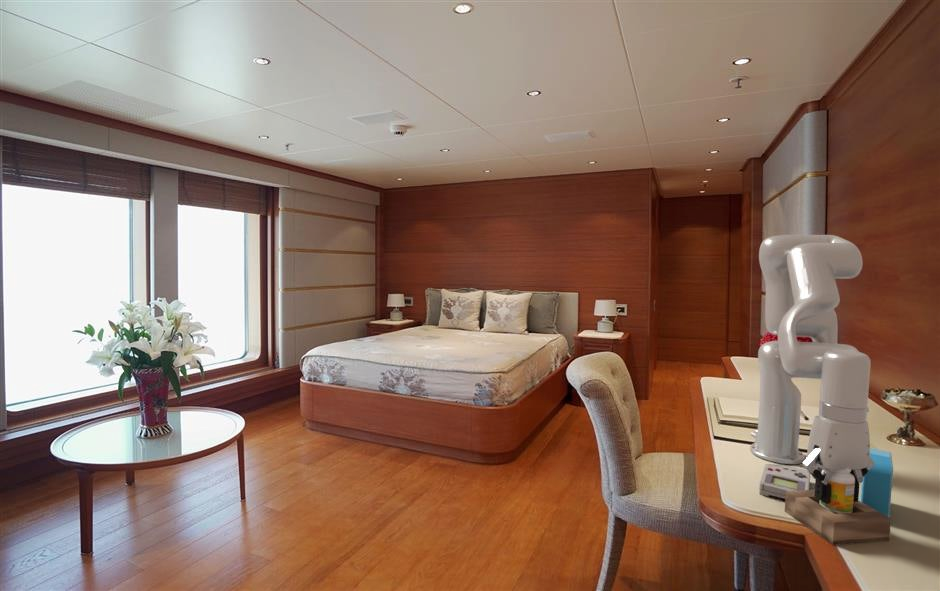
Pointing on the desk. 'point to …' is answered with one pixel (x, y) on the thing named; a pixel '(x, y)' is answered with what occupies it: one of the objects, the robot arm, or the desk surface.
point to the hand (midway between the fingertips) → (836, 498)
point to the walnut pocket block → (838, 520)
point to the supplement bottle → (841, 492)
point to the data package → (878, 482)
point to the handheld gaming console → (783, 480)
